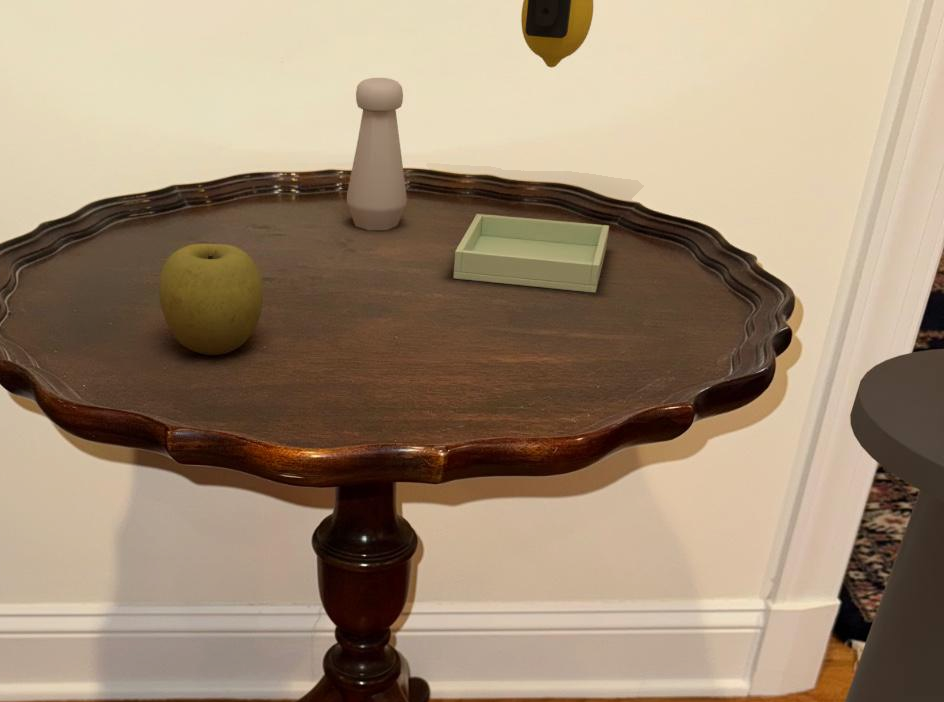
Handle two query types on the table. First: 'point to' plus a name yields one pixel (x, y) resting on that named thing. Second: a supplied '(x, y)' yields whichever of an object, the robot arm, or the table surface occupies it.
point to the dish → (532, 252)
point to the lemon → (563, 47)
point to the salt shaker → (377, 158)
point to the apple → (211, 297)
